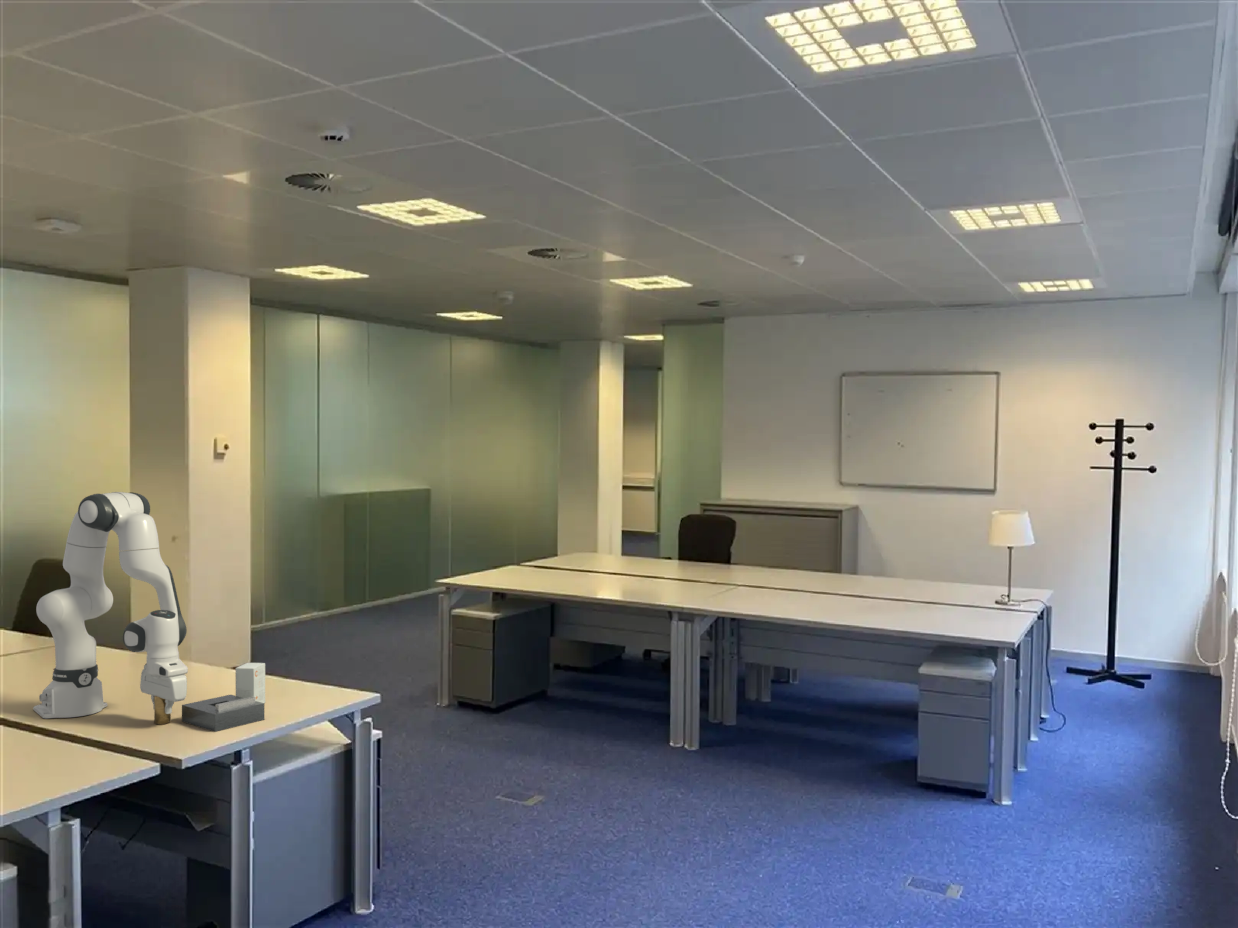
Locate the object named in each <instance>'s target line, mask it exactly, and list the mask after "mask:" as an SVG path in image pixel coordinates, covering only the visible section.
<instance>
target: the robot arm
mask: <svg viewBox="0 0 1238 928" xmlns="http://www.w3.org/2000/svg"><path fill="white" fill-rule="evenodd" d="M150 514H151V505H150V501H149V500H148V499H147V497H145V496H144V495H143V494H140V493H137V492H124V491H112V492H108V493H107V492H105V493H93V494H91V495H88V496H85V497H84V498H83V499H82V500H81V501H80V503H79V505H78V509H77V511H76V513H75V514H74V517H72V521H71V524H70V526H69V530H68V534H67V538H66V544H65V550H64V555H63V559H62V566H63V567H62V568H63V569H64V570H65V572H67V574H69V577H70V586H69V587H66V588H61V589H56V590H53V591H50V592H49V593H46V594H45V595H43V596H42V597H40V598H39V600H37V601H38V602H37V604H36V609H35V610H36V616H37V617H38V619H39V621H40V622H42V624H44V625H46V627H47V628H48V629H49V631H50V633H51V635H52V638H53V642H54V648H55V649H54V651H55V653H54V654H55V655H54V656H55V667H54V668H52V670H53V671H52V676H51V677H52V678H51V680H52V681H50V682H49V684H48V685H47V686H45V688H44V689H43V690H42V692H41V693H40V694H39V695H38V697H39V701H40V702H41V703H40V704H37V705H34V706H33V708H32V709H33V711H34V712H35V713H37V715H39V716H40V717H41V718H43V719H57V718H58V719H59V718H60V719H61V718H63V719H64V718H66V719H67V718H77V717H83V716H90V715H93V714H96V713H99V712H101V711H103V709H105V708H107V707H108V702H105V701H104V693H103V692H104V691H103V690H104V689H103V683H102V681H101V680H100V679H99V678H98V676H99V667H98V664H97V641H96V638H94V636H92V635H91V634H89V633H88V631H87V629H86V624H85V621H89V620H92V619H96V618H98V617H101V616H103V615H104V614H106V613H107V612H109V611H110V610H111V608H112V607H113V603H114V596H113V595H114V594H113V593H112V591H111V589H110V588H108V586H107V585H106V582H105V578H104V577H105V576H104V564H105V559H106V558H105V556H106V552H107V551H106V550H107V545H108V538H109V534H110V532H111V531H113V532H114V533H115V534H116V535H117V540H118V557H119V559H118V560H119V564H120V567H121V570H122V572H124V573H125V574H126V575H127V576H129V577H130V578H133V579H134V580H137V581H141V582H145V583H148V584H149V585H151V587H153V588H154V589H155V591H156V595H157V599H158V604H159V608H160V609H156V610H153V611H151V612H149V614H147V616H145V617H143V618H140V619H137V620H134V621H130V622H129V623H128V624H127V625H126V626H125V628H124V630H123V634H122V640H123V644H124V646H125V647H126V649H127V650H129V652H132V653H144V652H146V663H144V665H143V669H141V670H142V671H141V674H140V682H139V685H140V687H139V688H140V691H141V693H144V694H146V695H149V696H150V700H151V702H152V706H153V710H154V696H157V697H160V698H163V699H165V703H166V706H165V707H164V713H166V714H170V713H171V714H172V713H173V706H174V705H175V703H177V702H181V701H185V699H186V697H187V693H188V691H187V690H188V684H187V683H188V678H187V676H186V674H188V672H189V668H188V666H187V664H185V663H184V662H183V661H182V660H181V658H180V652H179V649H178V647H179V646H180V645H181V644H182V643H183V641H184V640H185V638H186V636H187V625H186V622H185V620H184V617H183V615H182V612H181V611H182V610H181V607H180V602H179V598H178V594H177V593H178V592H177V588H176V585H175V581H174V576H173V573H172V570H171V568H170V566H168V565H167V564H165V562H164V560H163V559H162V555H161V552H160V551H161V550H160V541H159V534H158V528H157V525H156V522H155V519H154V517H153V516H151V515H150Z"/></svg>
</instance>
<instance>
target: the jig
mask: <svg viewBox="0 0 1238 928" xmlns="http://www.w3.org/2000/svg"><path fill="white" fill-rule="evenodd" d="M264 720H265V703H261V702H257V701H255V697H253V696H252V697H247V698H242V697H238V696H236V695H234V694H228V695H227V694H226V695H223V696H222V695H221V696H216V697H212V698H208V699H204V700H199V701H194V702H188V703H184V704H182V705H181V722H183V723H185V724H189V725H192V726H195V727H198V728H202V729H204V730H209V731H212V732H215V733H216V732H220V731H221V732H222V731H224V730H229V729H232V728H236V727H240V726H245V725H249V724H253V723H257V722H260V721H261V722H262V721H264Z"/></svg>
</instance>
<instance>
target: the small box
mask: <svg viewBox="0 0 1238 928" xmlns="http://www.w3.org/2000/svg"><path fill="white" fill-rule="evenodd" d="M234 669H235V696H238V697H242V698H247V697H252V696H253V697H255V701H257V702H261V703H264V704H266V663H265V662H246V663H244V664H242V665H239V666H237V667H235V668H234Z"/></svg>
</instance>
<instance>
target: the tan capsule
mask: <svg viewBox="0 0 1238 928" xmlns="http://www.w3.org/2000/svg"><path fill="white" fill-rule="evenodd" d="M165 706H166V703H165V699H163V698H160V697H157V696H154V709H153V711H154V712H153V713H154V715H153V716H154V721H153V722H154V724H155V725H164V724H169V723H171V717H172V716H171V715H172V713H170V714H166V713H164V707H165Z"/></svg>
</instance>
